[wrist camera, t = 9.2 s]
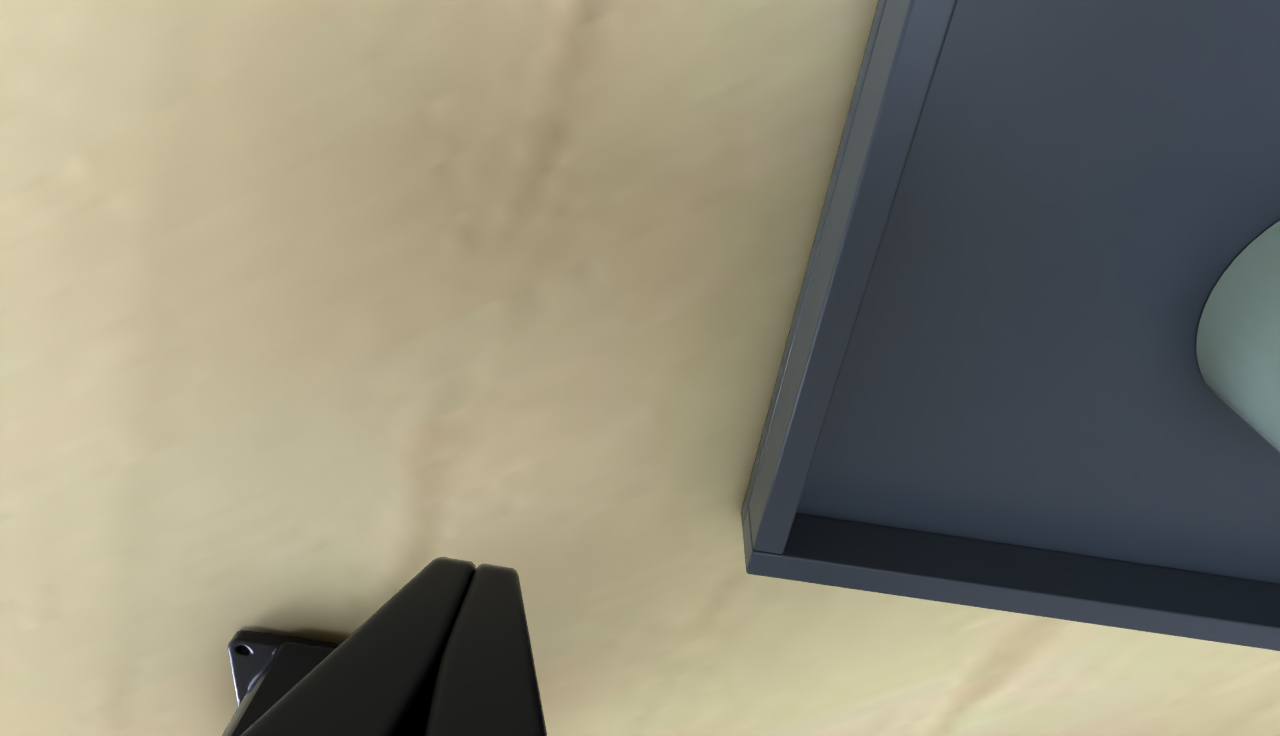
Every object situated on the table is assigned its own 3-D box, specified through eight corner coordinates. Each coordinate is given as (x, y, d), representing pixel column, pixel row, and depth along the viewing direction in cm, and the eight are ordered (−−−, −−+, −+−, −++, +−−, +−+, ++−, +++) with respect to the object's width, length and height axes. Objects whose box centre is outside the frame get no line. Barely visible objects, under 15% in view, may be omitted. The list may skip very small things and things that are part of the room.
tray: (1338, 600, 22) (1404, 669, 20) (740, 512, 22) (746, 574, 20) (1934, -105, 13) (2161, -110, 11) (950, -269, 13) (999, -306, 11)
